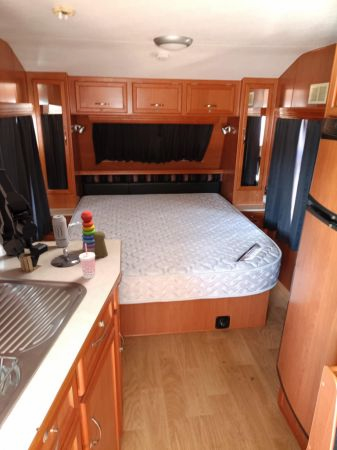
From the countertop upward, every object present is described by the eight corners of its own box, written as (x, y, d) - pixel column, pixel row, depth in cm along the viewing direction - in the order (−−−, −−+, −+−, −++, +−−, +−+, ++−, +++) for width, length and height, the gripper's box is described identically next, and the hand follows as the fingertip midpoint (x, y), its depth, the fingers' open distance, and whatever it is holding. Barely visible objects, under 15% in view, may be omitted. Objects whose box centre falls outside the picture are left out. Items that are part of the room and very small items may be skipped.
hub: (44, 266, 137) (42, 253, 135) (64, 253, 149) (63, 241, 146) (69, 272, 133) (67, 258, 130) (88, 258, 144) (87, 245, 142)
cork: (109, 252, 149) (107, 230, 145) (105, 258, 143) (103, 235, 139) (96, 252, 149) (94, 229, 145) (92, 258, 144) (89, 235, 140)
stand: (17, 272, 133) (15, 264, 132) (29, 265, 139) (28, 256, 138) (30, 275, 131) (28, 266, 129) (42, 267, 137) (41, 259, 135)
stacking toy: (86, 245, 157) (81, 207, 150) (102, 245, 156) (98, 208, 149) (80, 252, 150) (74, 213, 143) (96, 253, 148) (92, 214, 142)
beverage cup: (98, 277, 128) (95, 245, 123) (83, 281, 126) (78, 248, 121) (95, 270, 133) (92, 239, 128) (80, 273, 131) (76, 242, 126)
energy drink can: (54, 248, 154) (49, 218, 148) (58, 243, 159) (53, 214, 154) (67, 248, 154) (63, 218, 148) (70, 243, 159) (66, 214, 154)
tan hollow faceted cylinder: (18, 270, 133) (15, 257, 131) (29, 263, 138) (26, 250, 136) (29, 272, 131) (26, 259, 129) (40, 266, 136) (38, 253, 134)
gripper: (-13, 234, 125) (-4, 270, 131) (24, 241, 118) (31, 279, 124) (10, 224, 135) (17, 258, 140) (46, 230, 128) (52, 265, 133)
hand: (29, 265), depth 134 cm, fingers open, 6 cm apart
